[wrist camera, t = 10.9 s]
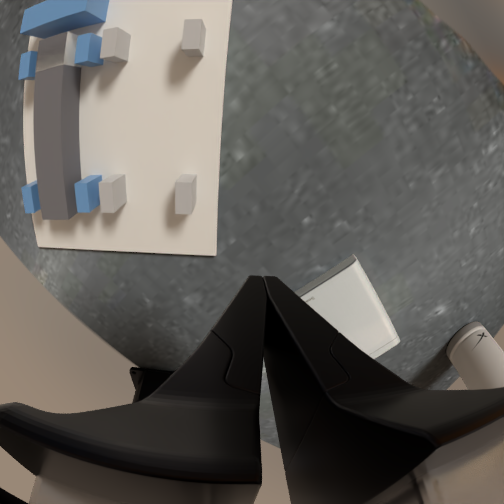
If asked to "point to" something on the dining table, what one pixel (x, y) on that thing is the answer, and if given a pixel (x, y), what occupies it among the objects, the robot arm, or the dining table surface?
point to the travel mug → (477, 357)
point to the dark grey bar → (57, 126)
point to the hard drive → (351, 307)
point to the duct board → (137, 122)
